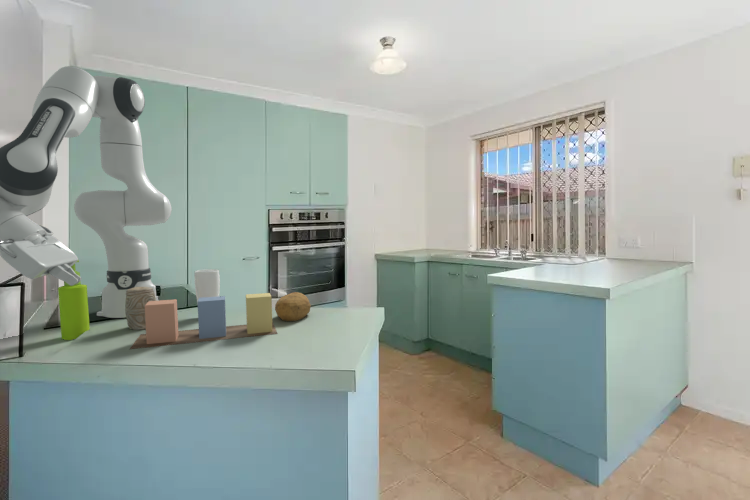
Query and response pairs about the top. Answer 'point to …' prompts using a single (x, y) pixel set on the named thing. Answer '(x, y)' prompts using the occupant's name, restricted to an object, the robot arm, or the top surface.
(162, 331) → the terracotta block
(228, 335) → the walnut board
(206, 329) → the slate block
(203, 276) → the white rectangular block
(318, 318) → the top surface
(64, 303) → the soap dispenser
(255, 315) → the ochre block
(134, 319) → the carving
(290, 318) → the potato
